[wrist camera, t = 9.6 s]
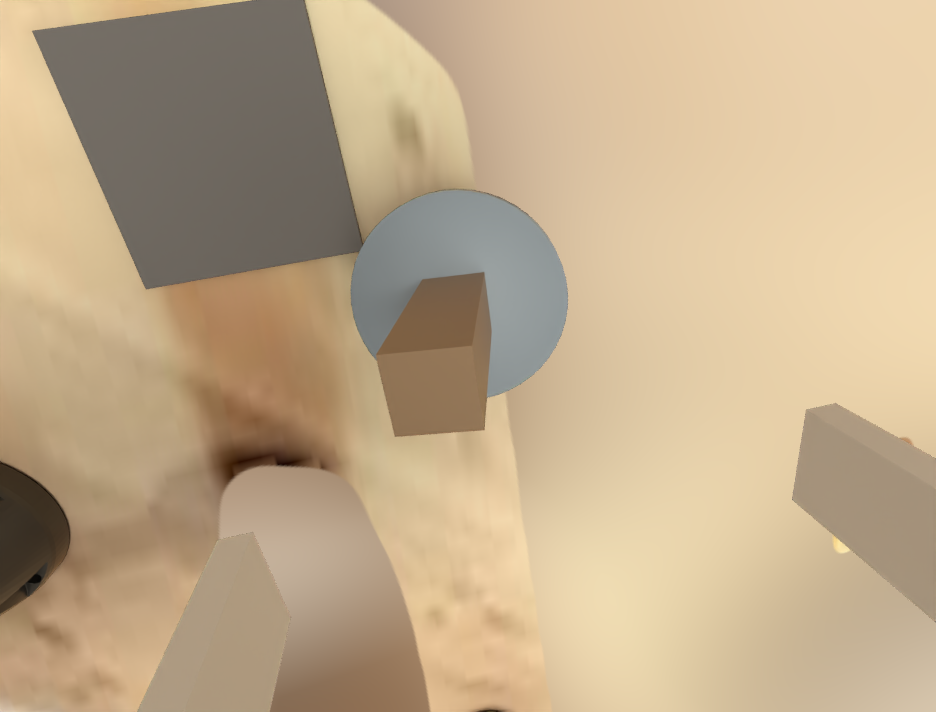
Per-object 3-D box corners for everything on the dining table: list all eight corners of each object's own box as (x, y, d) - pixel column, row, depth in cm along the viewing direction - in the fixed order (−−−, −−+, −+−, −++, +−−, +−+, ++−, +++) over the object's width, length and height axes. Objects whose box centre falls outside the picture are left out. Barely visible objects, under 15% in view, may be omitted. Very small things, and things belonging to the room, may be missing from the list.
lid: (381, 398, 30) (317, 528, 20) (334, 205, 25) (219, 247, 15) (570, 382, 29) (605, 513, 19) (558, 173, 24) (598, 196, 14)
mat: (149, 287, 35) (145, 289, 34) (39, 33, 28) (32, 30, 28) (363, 249, 36) (363, 250, 35) (303, -4, 30) (301, -7, 29)
